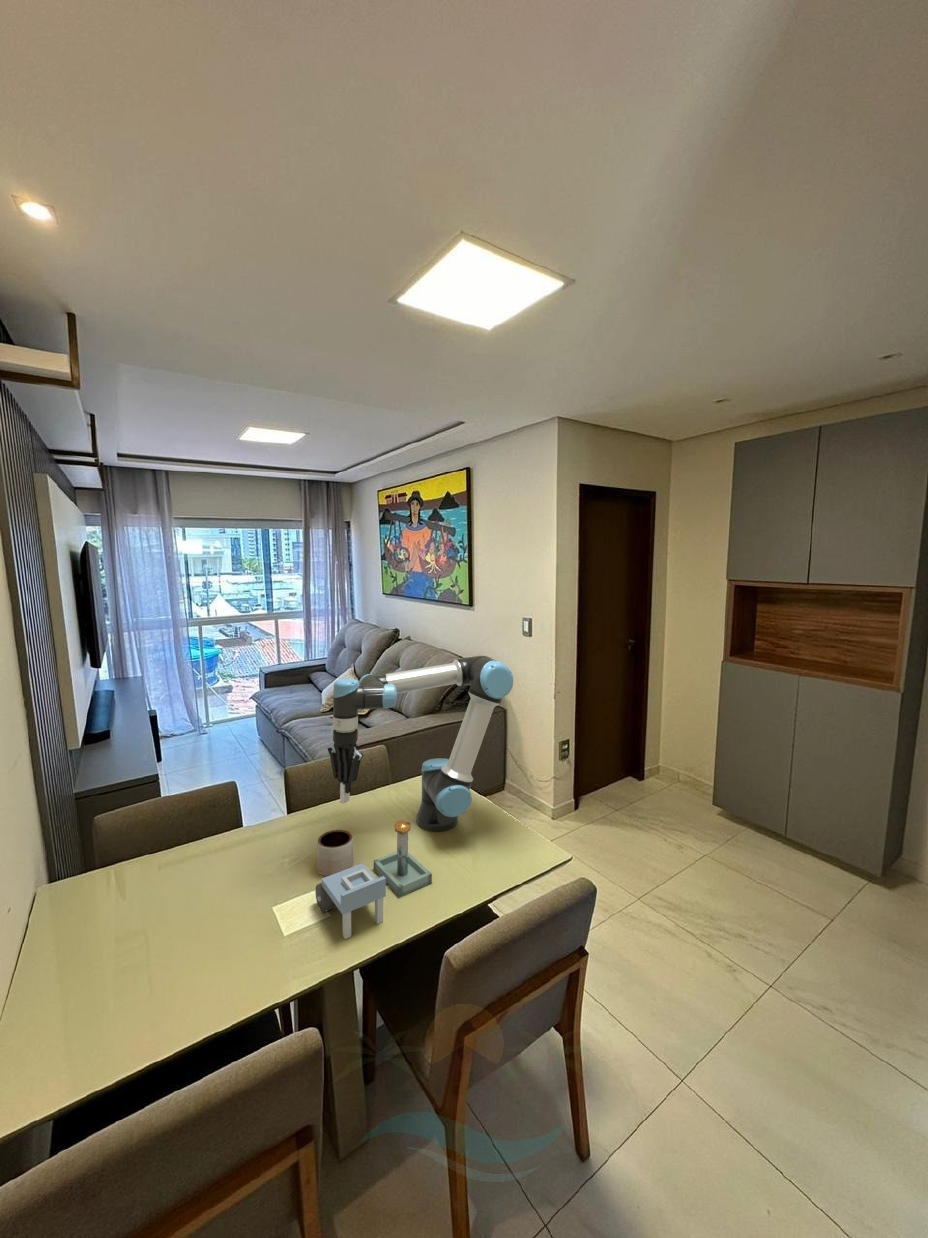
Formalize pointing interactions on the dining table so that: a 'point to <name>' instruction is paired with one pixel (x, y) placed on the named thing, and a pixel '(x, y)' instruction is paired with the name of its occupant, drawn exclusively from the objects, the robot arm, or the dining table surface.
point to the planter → (334, 852)
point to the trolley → (351, 893)
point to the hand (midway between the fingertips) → (344, 801)
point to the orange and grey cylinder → (402, 846)
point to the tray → (402, 884)
